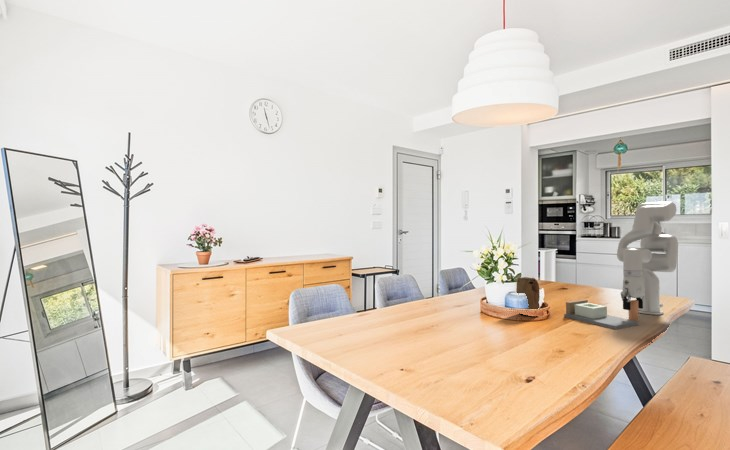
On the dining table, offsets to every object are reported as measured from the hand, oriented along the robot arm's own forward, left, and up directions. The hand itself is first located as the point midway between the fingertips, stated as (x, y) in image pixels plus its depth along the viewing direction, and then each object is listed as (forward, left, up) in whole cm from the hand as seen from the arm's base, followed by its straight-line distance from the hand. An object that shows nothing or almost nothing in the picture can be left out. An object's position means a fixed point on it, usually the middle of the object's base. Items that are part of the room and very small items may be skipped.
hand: (632, 308), depth 184 cm
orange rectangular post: (-1, 0, -6) cm, 6 cm away
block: (+34, -32, -6) cm, 47 cm away
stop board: (+13, -8, -6) cm, 16 cm away
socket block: (+13, -13, -4) cm, 19 cm away
